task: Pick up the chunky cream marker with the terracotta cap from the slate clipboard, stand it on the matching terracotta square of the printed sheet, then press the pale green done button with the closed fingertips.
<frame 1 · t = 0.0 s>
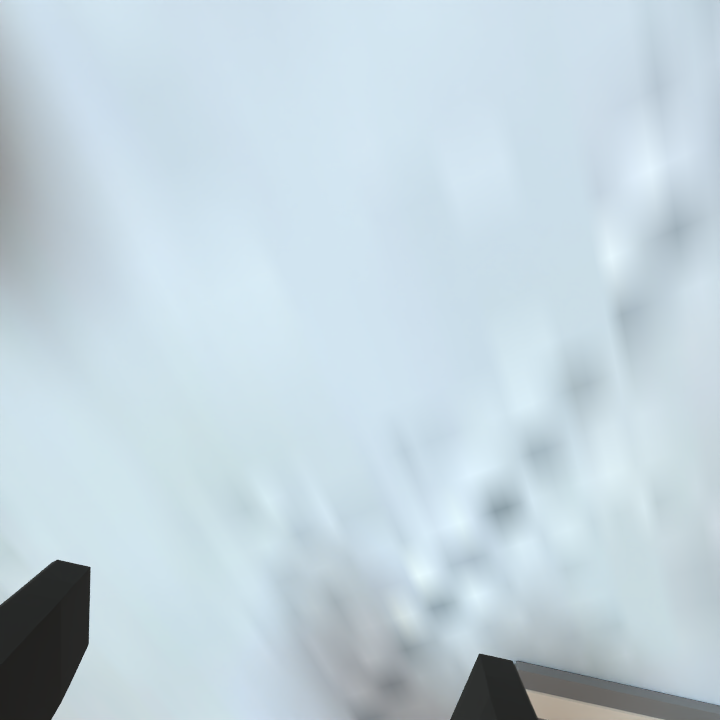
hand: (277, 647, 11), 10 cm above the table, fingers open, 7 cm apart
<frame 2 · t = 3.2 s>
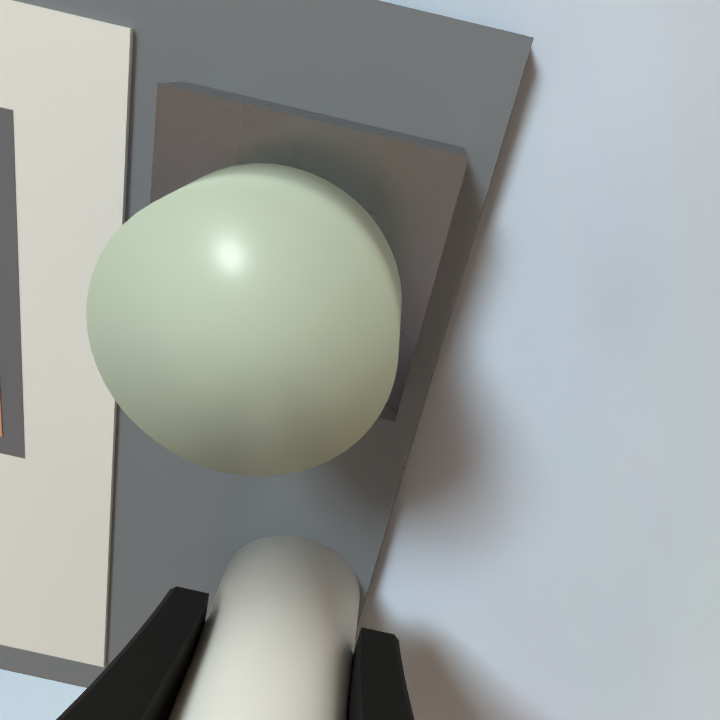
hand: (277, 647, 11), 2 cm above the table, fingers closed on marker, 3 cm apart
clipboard: (59, 400, 12), on the table
button housing: (300, 250, 10), resting on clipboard
done button: (268, 302, 7), point 3 cm above the table, slide at 0.0 cm
marker: (291, 589, 13), resting on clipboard, touching gripper
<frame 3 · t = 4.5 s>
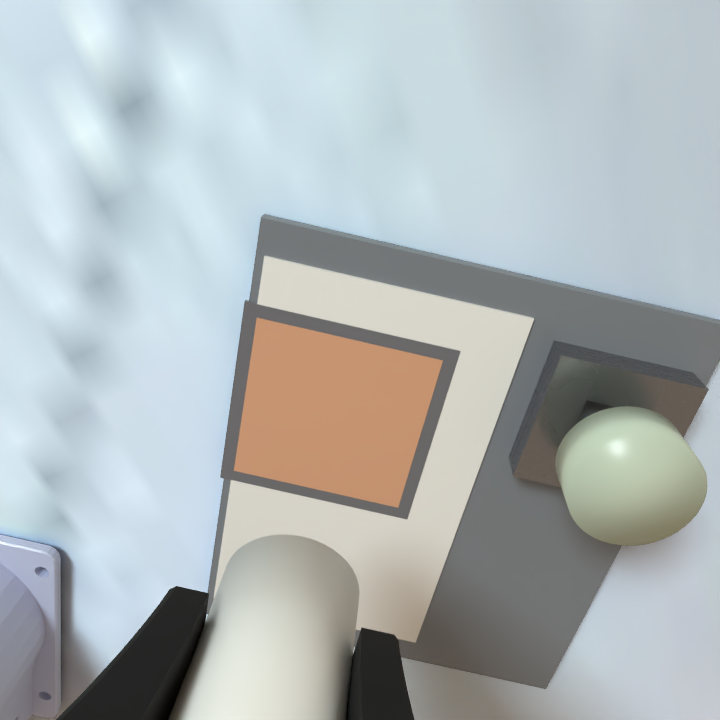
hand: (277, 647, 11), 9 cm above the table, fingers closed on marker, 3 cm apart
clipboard: (427, 485, 20), on the table
button housing: (596, 416, 18), resting on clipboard
done button: (619, 462, 16), point 3 cm above the table, slide at 0.0 cm
marker: (291, 587, 13), point 7 cm above the table, touching gripper
when the fingers open (2 cm above the table, at t = 5.9 s): marker stays where it is, resting on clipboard.
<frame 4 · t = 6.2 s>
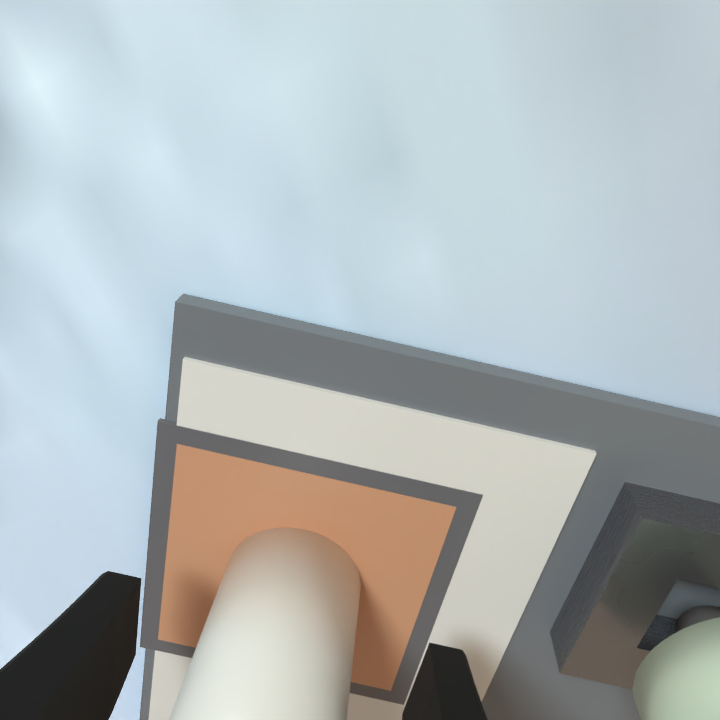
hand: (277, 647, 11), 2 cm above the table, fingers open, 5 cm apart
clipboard: (432, 657, 14), on the table
button housing: (682, 584, 12), resting on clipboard
marker: (293, 580, 13), point 1 cm above the table, touching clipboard
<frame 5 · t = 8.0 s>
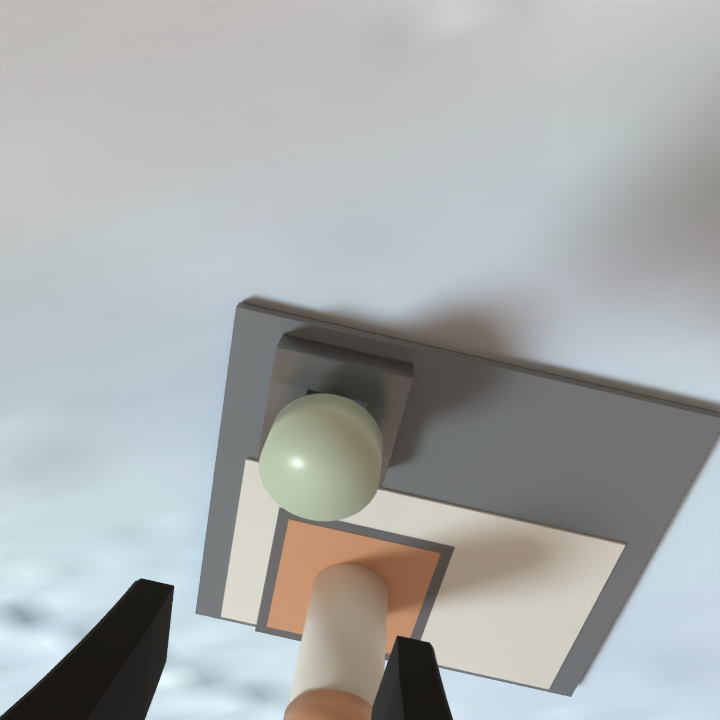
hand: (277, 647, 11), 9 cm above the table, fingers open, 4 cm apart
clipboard: (426, 521, 22), on the table
button housing: (335, 404, 19), resting on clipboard
done button: (325, 445, 17), point 3 cm above the table, slide at 0.0 cm
marker: (350, 592, 23), point 1 cm above the table, touching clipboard
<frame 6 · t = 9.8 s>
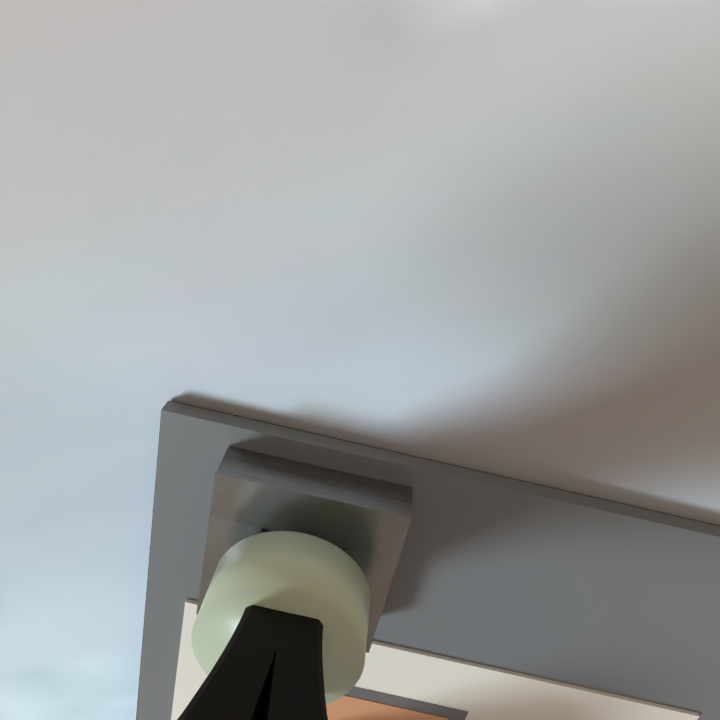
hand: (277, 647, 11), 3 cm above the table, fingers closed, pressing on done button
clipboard: (430, 674, 16), on the table
button housing: (304, 537, 14), resting on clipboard
done button: (290, 596, 12), point 2 cm above the table, slide at 0.5 cm, touching gripper
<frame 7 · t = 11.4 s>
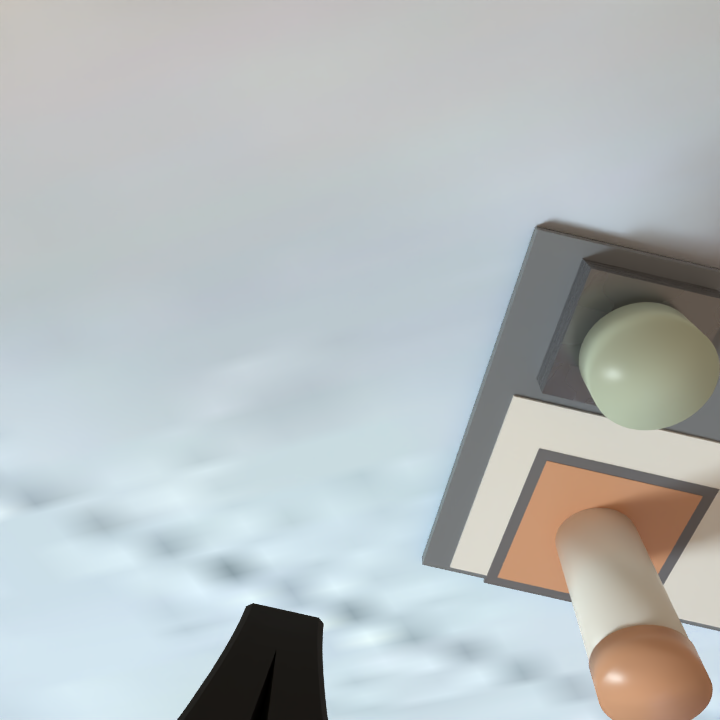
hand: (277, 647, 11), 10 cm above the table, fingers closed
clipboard: (687, 463, 21), on the table
button housing: (622, 335, 19), resting on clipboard
done button: (638, 357, 17), point 2 cm above the table, slide at 0.8 cm
marker: (595, 539, 22), point 1 cm above the table, touching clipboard
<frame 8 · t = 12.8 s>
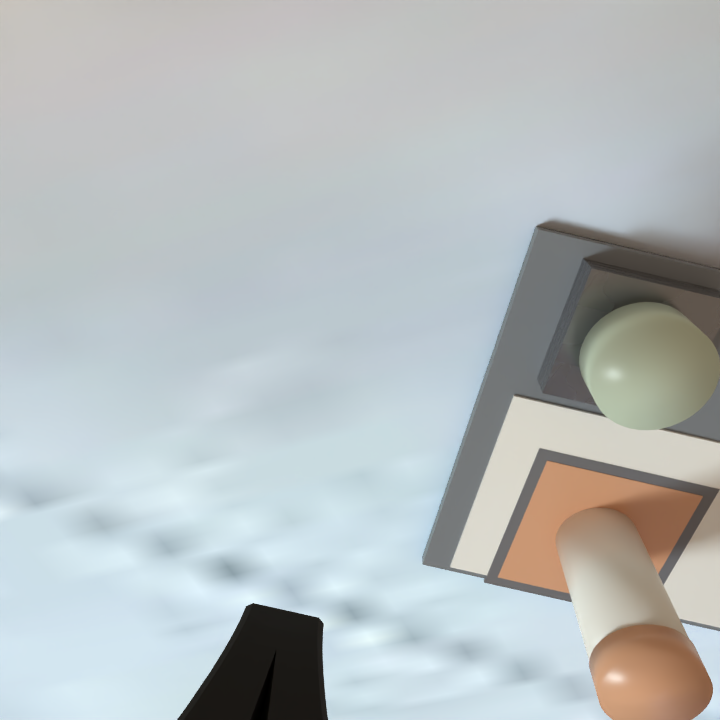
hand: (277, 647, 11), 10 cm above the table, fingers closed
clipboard: (687, 463, 21), on the table
button housing: (622, 335, 19), resting on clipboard
done button: (638, 356, 17), point 2 cm above the table, slide at 0.8 cm
marker: (596, 539, 22), point 1 cm above the table, touching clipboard
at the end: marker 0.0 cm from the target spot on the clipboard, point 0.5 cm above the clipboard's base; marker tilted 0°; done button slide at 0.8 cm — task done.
